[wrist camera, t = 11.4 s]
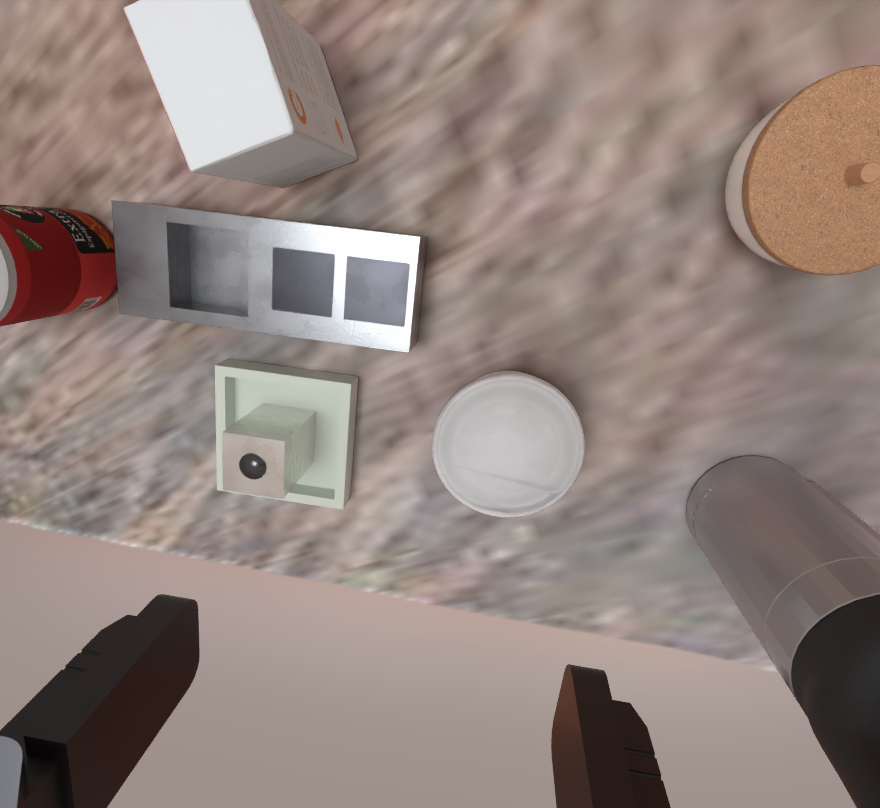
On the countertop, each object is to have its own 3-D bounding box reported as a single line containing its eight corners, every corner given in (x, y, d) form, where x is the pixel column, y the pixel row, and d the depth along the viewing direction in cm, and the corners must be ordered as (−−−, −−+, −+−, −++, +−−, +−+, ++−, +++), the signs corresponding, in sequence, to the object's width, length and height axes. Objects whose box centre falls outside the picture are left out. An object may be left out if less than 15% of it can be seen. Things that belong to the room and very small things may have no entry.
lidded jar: (748, 75, 36) (829, 23, 27) (903, 129, 36) (1037, 96, 27) (674, 238, 39) (724, 240, 30) (816, 288, 39) (908, 304, 30)
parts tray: (358, 376, 45) (351, 384, 43) (350, 496, 48) (343, 509, 46) (228, 358, 46) (214, 365, 43) (229, 478, 49) (216, 489, 47)
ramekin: (465, 503, 47) (460, 535, 42) (418, 384, 45) (408, 404, 40) (593, 466, 45) (604, 496, 40) (552, 339, 42) (559, 354, 37)
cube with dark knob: (316, 410, 45) (284, 441, 39) (314, 461, 47) (282, 499, 40) (262, 402, 46) (221, 432, 39) (262, 453, 47) (222, 490, 40)
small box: (239, 75, 39) (117, 3, 27) (320, 41, 38) (231, -52, 25) (282, 191, 41) (188, 174, 29) (360, 162, 40) (297, 131, 28)
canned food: (134, 232, 43) (17, 233, 33) (112, 324, 46) (-3, 352, 35) (44, 191, 43) (-103, 178, 33) (27, 286, 46) (-114, 302, 35)
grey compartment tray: (427, 236, 41) (419, 237, 37) (417, 341, 43) (408, 352, 39) (146, 203, 42) (110, 200, 38) (151, 306, 45) (118, 313, 41)
